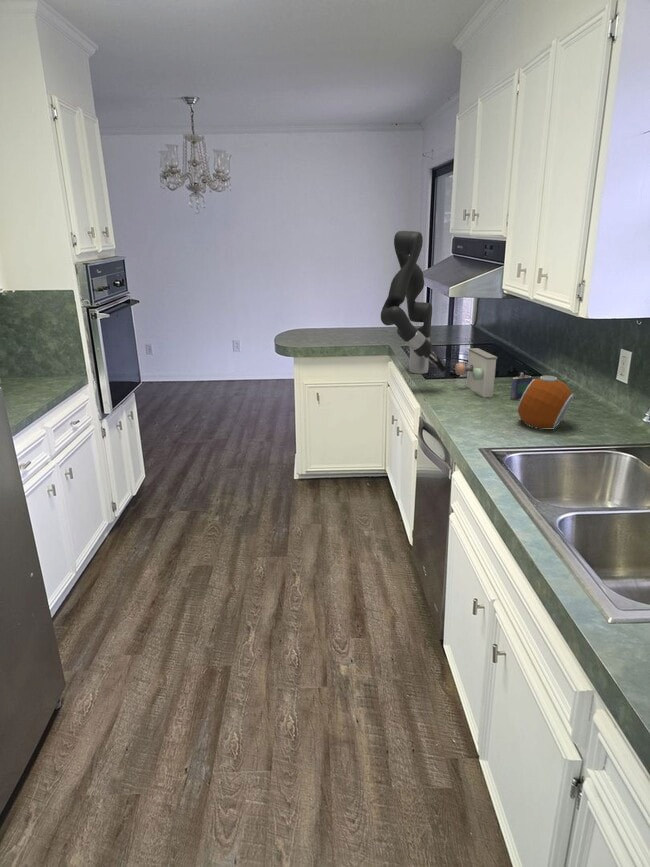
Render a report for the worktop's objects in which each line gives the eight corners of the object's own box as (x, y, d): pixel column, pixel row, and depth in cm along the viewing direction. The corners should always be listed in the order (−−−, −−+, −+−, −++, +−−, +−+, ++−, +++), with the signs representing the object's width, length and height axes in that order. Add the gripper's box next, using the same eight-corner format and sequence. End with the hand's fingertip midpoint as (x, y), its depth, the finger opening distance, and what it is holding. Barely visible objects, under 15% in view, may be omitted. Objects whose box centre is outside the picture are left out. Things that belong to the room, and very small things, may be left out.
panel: (465, 385, 258) (468, 348, 252) (474, 385, 259) (477, 348, 253) (483, 397, 240) (487, 357, 235) (493, 397, 241) (497, 357, 235)
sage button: (471, 378, 244) (472, 366, 243) (490, 377, 246) (491, 366, 244) (476, 381, 240) (477, 369, 238) (496, 380, 241) (497, 368, 239)
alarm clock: (525, 413, 221) (531, 368, 215) (574, 421, 211) (581, 374, 205) (509, 426, 206) (514, 379, 200) (560, 436, 196) (567, 386, 190)
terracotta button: (454, 373, 253) (455, 362, 251) (473, 372, 254) (474, 361, 253) (459, 376, 248) (460, 364, 247) (477, 375, 250) (478, 363, 248)
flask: (512, 400, 237) (515, 374, 233) (507, 398, 239) (510, 372, 236) (531, 398, 240) (534, 372, 236) (526, 396, 242) (529, 371, 239)
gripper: (429, 339, 236) (456, 367, 242) (419, 333, 248) (444, 360, 255) (416, 352, 237) (443, 380, 243) (406, 346, 249) (432, 372, 256)
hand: (444, 370), depth 249 cm, fingers closed
